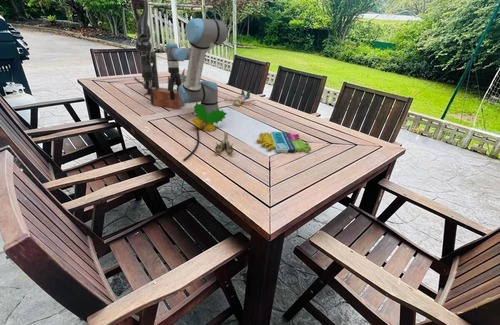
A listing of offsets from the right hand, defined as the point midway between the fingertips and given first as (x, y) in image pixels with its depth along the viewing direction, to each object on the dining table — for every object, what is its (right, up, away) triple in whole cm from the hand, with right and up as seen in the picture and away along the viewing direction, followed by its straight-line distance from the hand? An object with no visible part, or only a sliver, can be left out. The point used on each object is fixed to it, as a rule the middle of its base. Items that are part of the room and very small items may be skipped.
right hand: (175, 97), depth 196 cm
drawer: (-12, -3, +4) cm, 13 cm away
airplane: (-17, +34, +71) cm, 81 cm away
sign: (+74, -37, -43) cm, 94 cm away
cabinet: (-6, -5, +4) cm, 9 cm away
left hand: (-21, +3, +3) cm, 21 cm away
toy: (+49, +3, +25) cm, 55 cm away
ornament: (+30, -27, -31) cm, 51 cm away
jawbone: (+42, -43, -57) cm, 83 cm away
